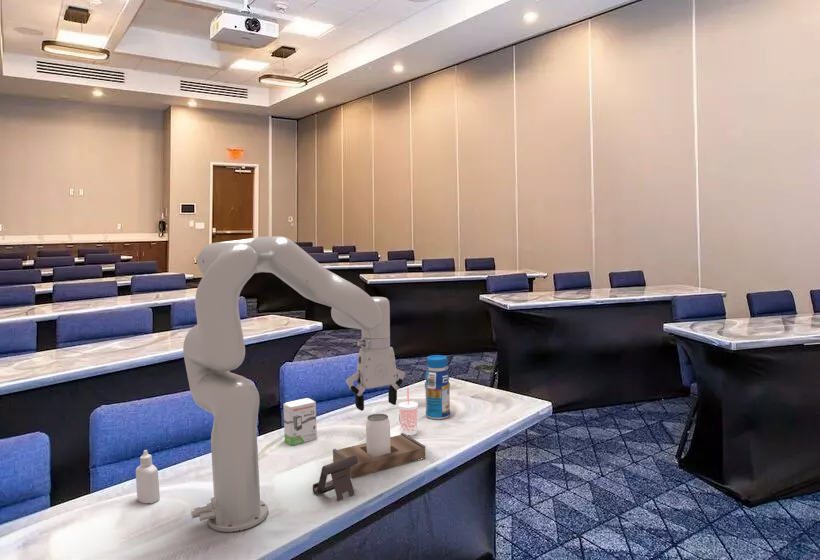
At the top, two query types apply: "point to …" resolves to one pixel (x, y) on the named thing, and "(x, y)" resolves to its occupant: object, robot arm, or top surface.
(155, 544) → the top surface
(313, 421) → the ink box
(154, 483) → the eye dropper bottle
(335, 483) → the portable electronic device stand
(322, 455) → the top surface
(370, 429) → the can
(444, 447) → the top surface
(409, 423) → the beverage cup
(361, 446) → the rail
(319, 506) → the top surface
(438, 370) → the beverage bottle
